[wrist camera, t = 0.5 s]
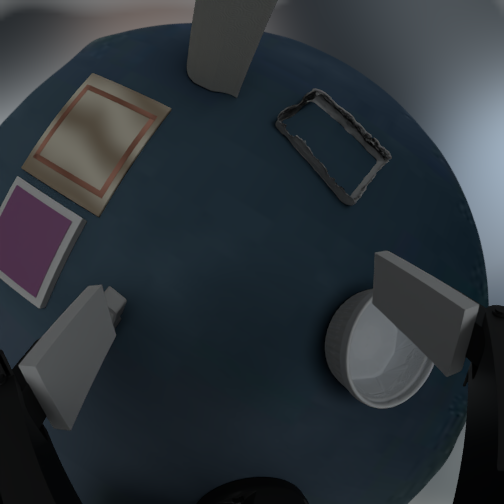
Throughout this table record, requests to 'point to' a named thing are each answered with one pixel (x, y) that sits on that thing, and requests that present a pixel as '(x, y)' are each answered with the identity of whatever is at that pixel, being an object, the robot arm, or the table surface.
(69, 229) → the ink pad
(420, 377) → the ramekin
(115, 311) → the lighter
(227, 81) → the paper towel roll
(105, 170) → the marked board
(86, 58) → the table surface
